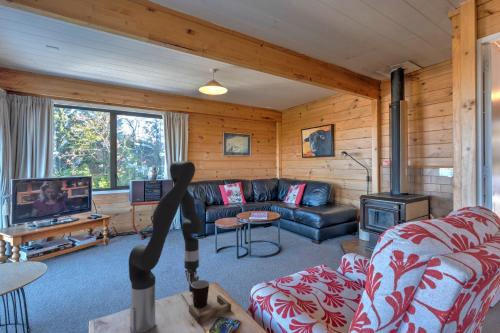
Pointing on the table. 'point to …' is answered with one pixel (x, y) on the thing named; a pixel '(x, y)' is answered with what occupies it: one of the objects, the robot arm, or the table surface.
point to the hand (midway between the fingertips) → (191, 291)
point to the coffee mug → (200, 293)
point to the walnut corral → (211, 310)
